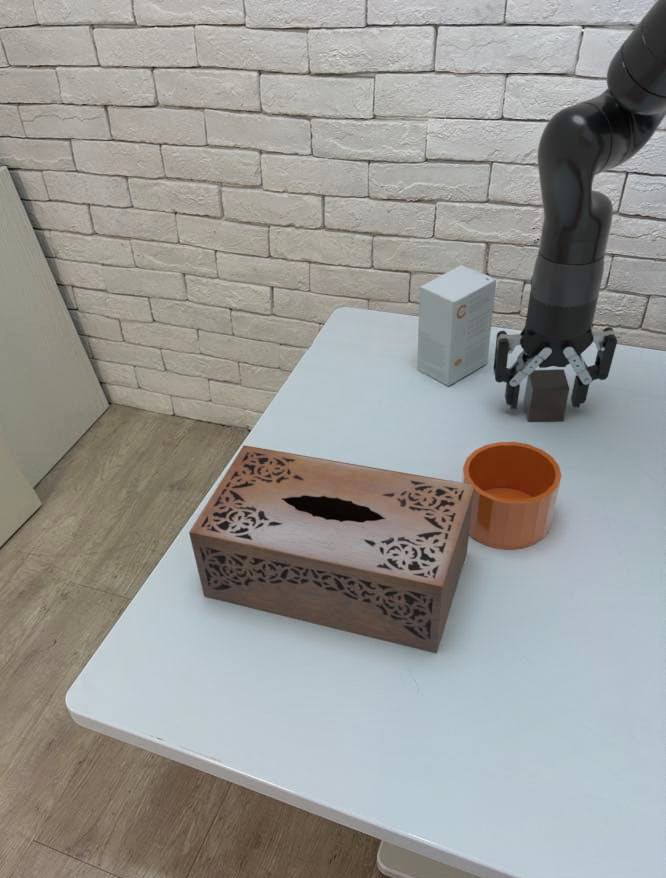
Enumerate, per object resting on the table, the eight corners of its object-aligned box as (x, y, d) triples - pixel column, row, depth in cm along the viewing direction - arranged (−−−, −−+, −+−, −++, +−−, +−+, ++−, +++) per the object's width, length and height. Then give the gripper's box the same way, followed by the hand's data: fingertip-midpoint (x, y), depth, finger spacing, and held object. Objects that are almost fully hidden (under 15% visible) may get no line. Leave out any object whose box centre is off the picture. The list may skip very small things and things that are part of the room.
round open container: (544, 487, 95) (553, 440, 90) (557, 549, 88) (568, 502, 83) (456, 488, 96) (460, 442, 91) (462, 549, 89) (467, 503, 84)
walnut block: (557, 401, 106) (564, 369, 102) (563, 421, 103) (569, 389, 99) (523, 401, 107) (528, 370, 103) (527, 422, 104) (533, 389, 100)
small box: (455, 347, 117) (461, 263, 108) (488, 364, 114) (498, 278, 104) (415, 369, 114) (418, 285, 105) (448, 387, 111) (454, 301, 101)
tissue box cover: (204, 596, 88) (189, 532, 81) (253, 509, 97) (243, 445, 90) (436, 653, 80) (442, 587, 73) (466, 552, 89) (474, 485, 82)
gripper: (504, 307, 91) (489, 423, 102) (637, 301, 89) (607, 421, 100) (497, 275, 96) (484, 389, 108) (623, 269, 94) (596, 386, 106)
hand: (543, 404), depth 104 cm, fingers open, 7 cm apart
